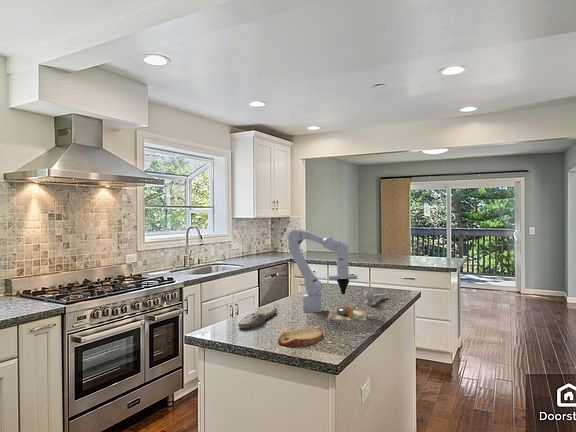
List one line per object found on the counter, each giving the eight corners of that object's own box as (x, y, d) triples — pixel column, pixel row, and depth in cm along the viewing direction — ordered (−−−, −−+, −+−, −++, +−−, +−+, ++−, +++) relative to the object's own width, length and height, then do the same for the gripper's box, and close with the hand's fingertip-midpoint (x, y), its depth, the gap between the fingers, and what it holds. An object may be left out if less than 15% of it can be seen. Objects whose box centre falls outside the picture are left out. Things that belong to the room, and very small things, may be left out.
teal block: (353, 318, 182) (353, 318, 182) (355, 318, 182) (355, 317, 182) (355, 319, 180) (355, 319, 180) (358, 319, 180) (358, 318, 180)
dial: (334, 312, 194) (334, 302, 194) (350, 311, 195) (349, 301, 195) (343, 318, 181) (343, 308, 181) (359, 317, 183) (359, 307, 183)
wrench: (386, 303, 231) (365, 307, 206) (383, 302, 232) (362, 306, 208) (387, 289, 231) (366, 292, 207) (384, 289, 233) (363, 291, 208)
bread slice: (322, 333, 164) (322, 324, 164) (324, 347, 146) (324, 338, 146) (280, 333, 165) (280, 324, 165) (277, 347, 147) (277, 337, 147)
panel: (327, 321, 182) (327, 318, 182) (329, 311, 200) (329, 309, 200) (366, 322, 179) (366, 320, 179) (365, 312, 197) (365, 310, 197)
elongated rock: (282, 315, 200) (264, 314, 204) (281, 304, 201) (264, 304, 204) (253, 330, 168) (233, 329, 171) (253, 318, 168) (232, 317, 171)
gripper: (353, 265, 201) (354, 291, 201) (326, 266, 199) (327, 293, 199) (358, 267, 194) (358, 294, 194) (330, 268, 192) (330, 295, 192)
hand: (343, 294), depth 196 cm, fingers closed
